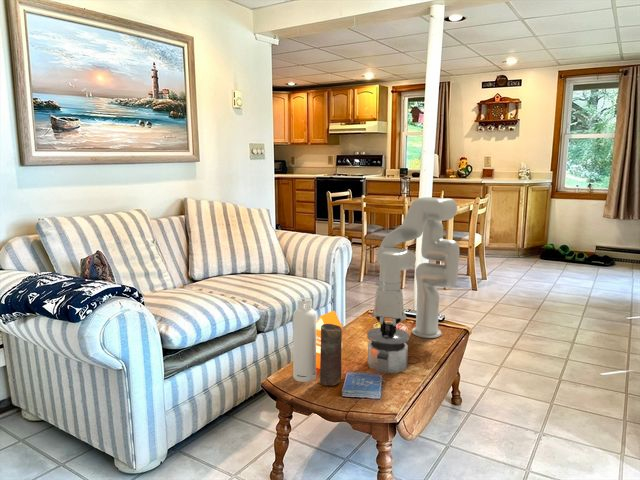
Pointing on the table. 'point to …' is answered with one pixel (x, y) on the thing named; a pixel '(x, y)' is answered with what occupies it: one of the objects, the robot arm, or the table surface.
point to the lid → (388, 336)
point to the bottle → (304, 341)
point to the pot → (387, 357)
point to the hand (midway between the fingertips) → (388, 333)
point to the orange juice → (324, 319)
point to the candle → (330, 354)
